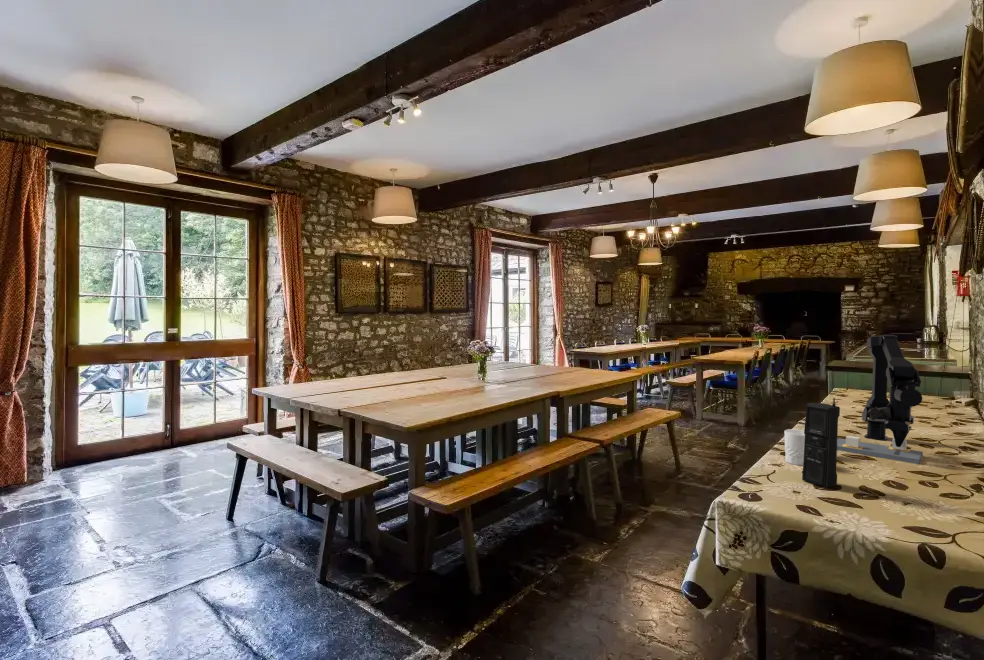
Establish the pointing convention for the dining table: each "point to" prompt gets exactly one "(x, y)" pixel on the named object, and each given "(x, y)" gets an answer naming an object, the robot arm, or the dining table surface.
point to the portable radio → (821, 444)
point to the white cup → (794, 446)
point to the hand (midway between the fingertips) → (898, 446)
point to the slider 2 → (903, 446)
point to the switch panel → (881, 451)
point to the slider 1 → (852, 441)
